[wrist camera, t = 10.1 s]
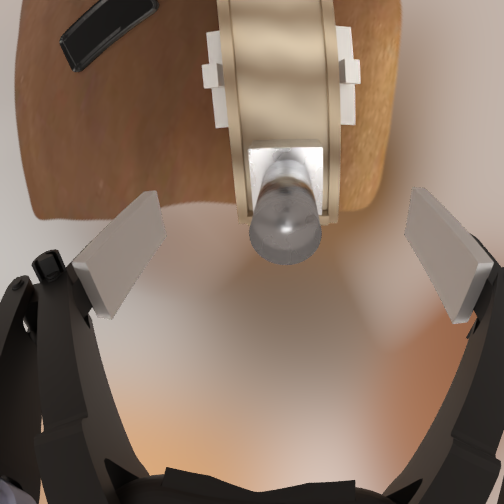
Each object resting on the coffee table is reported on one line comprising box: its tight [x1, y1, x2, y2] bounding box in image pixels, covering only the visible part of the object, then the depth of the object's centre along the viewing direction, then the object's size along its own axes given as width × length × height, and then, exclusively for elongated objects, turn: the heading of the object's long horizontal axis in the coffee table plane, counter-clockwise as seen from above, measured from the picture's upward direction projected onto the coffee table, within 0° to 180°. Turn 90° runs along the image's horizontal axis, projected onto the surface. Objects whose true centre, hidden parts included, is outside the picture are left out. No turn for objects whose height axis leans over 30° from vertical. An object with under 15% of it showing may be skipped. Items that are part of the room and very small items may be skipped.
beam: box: [217, 0, 341, 226], centre depth 23 cm, size 30×11×5 cm, turn 4°
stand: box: [202, 26, 361, 128], centre depth 27 cm, size 20×16×7 cm
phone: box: [60, 0, 159, 72], centre depth 24 cm, size 8×1×15 cm
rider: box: [248, 139, 323, 265], centre depth 21 cm, size 6×6×13 cm
